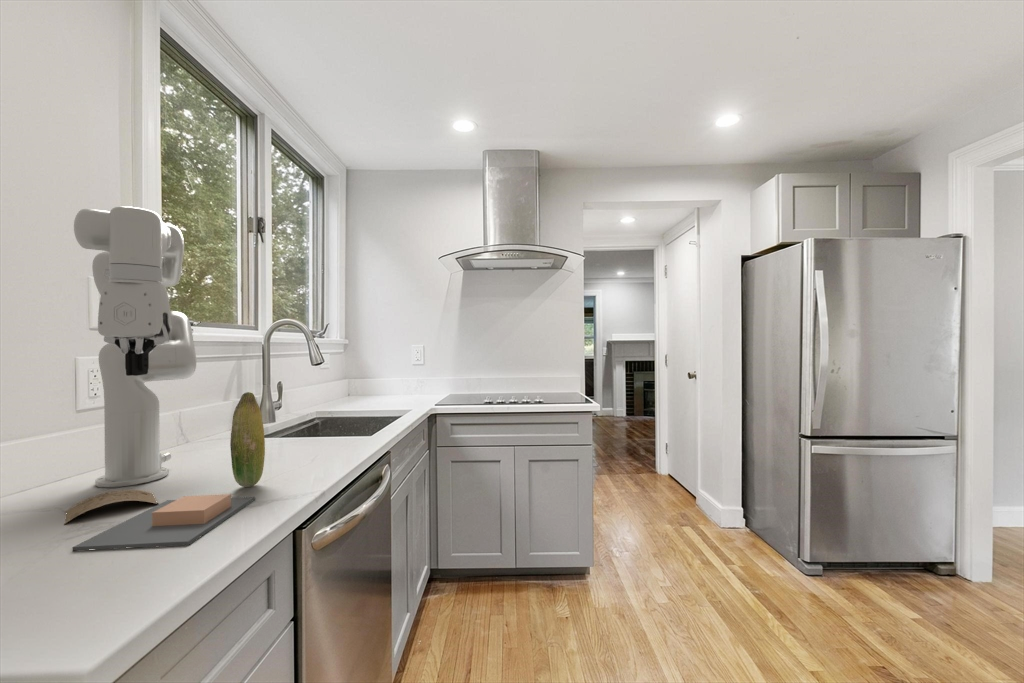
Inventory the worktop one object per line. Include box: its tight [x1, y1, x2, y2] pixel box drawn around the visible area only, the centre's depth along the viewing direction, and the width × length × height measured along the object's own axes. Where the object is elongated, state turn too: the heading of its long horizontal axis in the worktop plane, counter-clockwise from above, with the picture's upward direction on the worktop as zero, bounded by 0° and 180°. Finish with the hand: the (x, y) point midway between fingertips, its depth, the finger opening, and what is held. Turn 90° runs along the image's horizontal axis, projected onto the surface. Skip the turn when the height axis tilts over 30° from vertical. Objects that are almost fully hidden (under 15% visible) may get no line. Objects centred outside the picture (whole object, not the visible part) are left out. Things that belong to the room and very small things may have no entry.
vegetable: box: [229, 391, 266, 488], centre depth 94 cm, size 6×6×20 cm
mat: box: [71, 496, 256, 551], centre depth 76 cm, size 20×16×1 cm
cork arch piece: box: [63, 489, 158, 526], centre depth 83 cm, size 14×10×3 cm
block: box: [152, 493, 232, 526], centre depth 77 cm, size 8×2×8 cm
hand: (137, 374), depth 84 cm, fingers closed
